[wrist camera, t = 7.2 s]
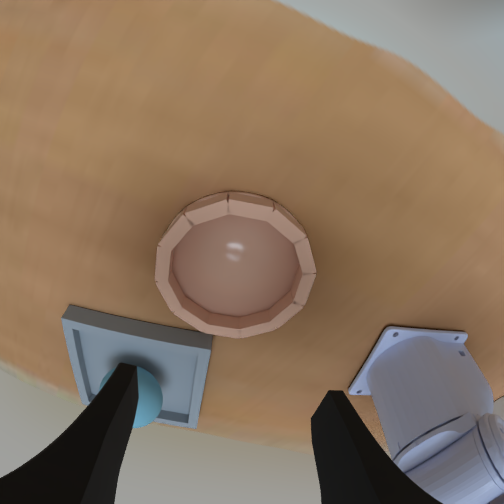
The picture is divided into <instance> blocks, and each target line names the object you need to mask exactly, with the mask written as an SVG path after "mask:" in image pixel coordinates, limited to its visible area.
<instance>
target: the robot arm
mask: <svg viewBox="0 0 504 504" xmlns="http://www.w3.org/2000/svg"><path fill="white" fill-rule="evenodd" d="M395 332H396V333H395ZM467 337H468V335H467V333H466V332H457V331H442V330H429V329H416V328H405V327H394V326H390V327H387V328H386V329H385V330H384V331H383V333H382V335H381V337H380V338H379V340H378V342H377V344H376V345H375V347H374V349H373V350H372V352H371V354H370V355H369V357H368V359H367V360H366V362H365V364H364V365H363V367H362V369H361V370H360V372H359V373H358V375H357V377H356V378H355V380H354V381H353V383H352V384H351V386H350V387H349V389H348V391H349V394H350V395H372V398H373V401H374V404H375V407H376V410H377V413H378V416H379V420H380V423H381V426H382V429H383V432H384V435H385V438H386V441H387V445H388V448H389V451H390V454H391V458H392V460H391V459H390V458H389V456H388V455H387V454H386V453H385V451H384V450H383V449H382V448H381V446H380V445H379V444H378V442H377V441H376V440H375V438H374V437H373V436H372V434H371V433H370V431H369V430H368V428H367V427H366V426H365V424H364V423H363V421H362V420H361V418H360V417H359V415H358V414H357V412H356V410H355V409H354V407H353V406H352V404H351V403H350V401H349V400H348V398H347V396H346V395H345V393H344V392H343V391H334V390H329V391H328V392H327V394H326V395H325V397H324V399H323V400H322V402H321V404H320V405H319V407H318V408H317V410H316V411H315V413H314V414H313V416H312V418H311V433H312V444H313V450H314V456H315V461H316V466H317V472H318V478H319V483H320V489H321V502H322V504H504V420H503V419H502V418H501V417H500V416H498V415H496V414H492V413H493V407H494V400H493V393H492V390H491V387H490V385H489V383H488V382H487V380H486V378H485V377H484V375H483V373H482V372H481V370H480V369H479V367H478V365H477V364H476V362H475V361H474V359H473V357H472V356H471V354H470V353H469V351H468V350H467V348H466V347H465V345H464V342H465V341H466V339H467ZM138 400H139V392H138V375H137V366H135V365H131V364H126V363H122V362H121V363H119V364H118V365H117V367H116V368H115V370H114V372H113V373H112V375H111V376H110V377H109V379H108V380H107V382H106V383H105V384H104V386H103V387H102V389H101V390H100V391H99V392H98V394H97V395H96V396H95V398H94V399H93V400H92V401H91V403H90V404H89V405H88V406H87V407H86V409H85V410H84V411H83V412H82V413H81V414H80V415H79V416H78V418H77V419H76V420H75V421H74V422H73V423H72V424H71V425H70V426H69V427H68V428H67V429H66V430H65V431H64V432H63V433H62V434H61V435H60V436H59V437H58V438H57V439H56V440H54V441H53V442H52V443H51V444H50V445H49V446H47V447H46V448H45V449H44V450H43V451H41V452H40V453H39V454H38V455H36V456H35V457H33V458H32V459H30V460H29V461H28V462H26V463H25V464H23V465H22V466H21V467H19V468H17V469H16V470H14V471H12V472H10V473H9V474H7V475H5V476H3V477H1V478H0V504H114V501H115V494H116V488H117V481H118V476H119V471H120V467H121V464H122V461H123V457H124V454H125V450H126V447H127V444H128V440H129V437H130V434H131V430H132V427H133V424H134V420H135V415H136V410H137V405H138Z"/></svg>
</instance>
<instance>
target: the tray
mask: <svg viewBox="0 0 504 504" xmlns="http://www.w3.org/2000/svg"><path fill="white" fill-rule="evenodd" d="M61 319H62V324H63V329H64V334H65V339H66V343H67V348H68V352H69V357H70V361H71V365H72V369H73V373H74V376H75V380H76V384H77V387H78V391H79V394H80V398H81V401H82V404H85V405H89V404H90V403H91V401H92V400H93V399H94V398H95V396H96V395H97V394H98V392H99V388H100V384H101V381H102V379H103V378H104V376H105V375H106V374H107V373H108V372H109V371H111V370H112V369H114V368H116V367H117V365H118V364H119V363H121V362H122V363H126V364H131V365H135V366H138V367H141V368H143V369H145V370H147V371H148V372H150V373H151V374H152V375H153V376H154V377H155V378H156V380H157V381H158V383H159V385H160V387H161V390H162V394H163V404H162V408H161V411H160V413H159V415H158V416H157V417H156V418H155V420H154V422H159V423H164V424H170V425H175V426H181V427H187V428H194V429H196V427H197V422H198V417H199V411H200V406H201V400H202V395H203V390H204V384H205V379H206V374H207V369H208V363H209V358H210V353H211V346H212V336H213V335H212V334H206V333H202V332H196V331H191V330H185V329H179V328H174V327H168V326H163V325H158V324H153V323H148V322H143V321H138V320H133V319H129V318H124V317H119V316H115V315H111V314H106V313H102V312H98V311H93V310H89V309H85V308H81V307H77V306H73V305H69V307H68V308H67V310H66V311H65V313H64V314H63V316H62V318H61Z"/></svg>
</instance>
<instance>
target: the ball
mask: <svg viewBox="0 0 504 504" xmlns="http://www.w3.org/2000/svg"><path fill="white" fill-rule="evenodd" d="M114 370H115V368H114V369H112V370H111V371H109V372H108V373H107V374H106V375H105V376H104V378H103V379H102V381H101V384H100V388H99V391H100V390H101V389H102V387H103V386H104V384H105V383H106V382H107V380H108V379H109V377H110V376H111V375H112V373H113V372H114ZM137 375H138V392H139V400H138V405H137V410H136V415H135V420H134V424H133V427H132V428H139V427H143V426H146V425H148V424H150V423H151V422H152V421H154V420H155V418H156V417H157V416H158V415H159V413H160V411H161V408H162V404H163V394H162V390H161V387H160V385H159V383H158V381H157V380H156V378H155V377H154V376H153V375H152V374H151V373H150V372H148V371H147V370H145V369H143V368H141V367H138V366H137Z"/></svg>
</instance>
